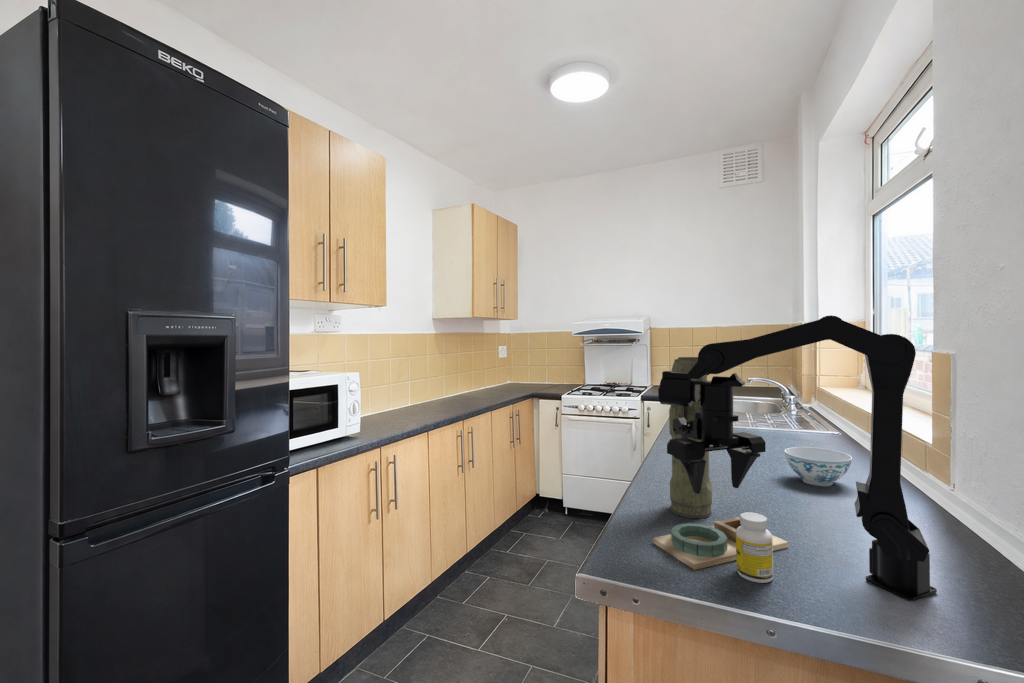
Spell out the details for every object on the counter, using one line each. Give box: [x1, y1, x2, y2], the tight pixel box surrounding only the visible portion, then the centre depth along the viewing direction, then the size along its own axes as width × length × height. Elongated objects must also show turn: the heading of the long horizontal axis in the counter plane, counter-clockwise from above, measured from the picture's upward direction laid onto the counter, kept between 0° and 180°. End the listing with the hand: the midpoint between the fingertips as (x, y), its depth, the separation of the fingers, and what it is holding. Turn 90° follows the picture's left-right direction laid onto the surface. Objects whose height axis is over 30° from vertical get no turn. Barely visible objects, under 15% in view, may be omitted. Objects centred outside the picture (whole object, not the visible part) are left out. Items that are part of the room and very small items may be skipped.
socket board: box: [652, 516, 789, 571], centre depth 86 cm, size 11×22×3 cm, turn 110°
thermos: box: [668, 356, 713, 519], centre depth 103 cm, size 9×12×35 cm
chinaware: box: [784, 446, 853, 487], centre depth 121 cm, size 15×15×8 cm
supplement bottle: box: [736, 511, 774, 584], centre depth 75 cm, size 5×5×10 cm
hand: (716, 490), depth 86 cm, fingers open, 9 cm apart
